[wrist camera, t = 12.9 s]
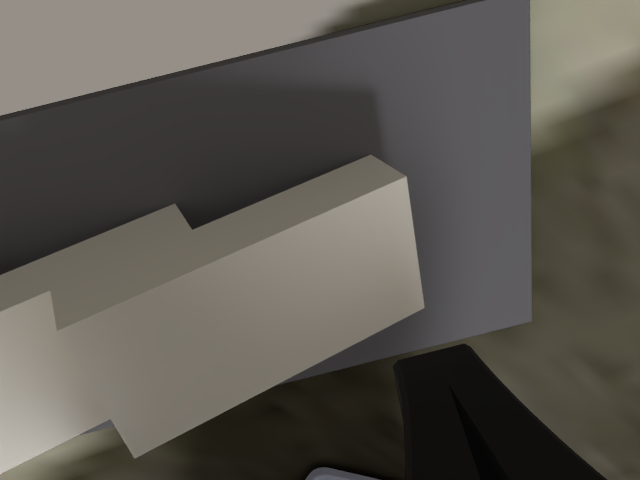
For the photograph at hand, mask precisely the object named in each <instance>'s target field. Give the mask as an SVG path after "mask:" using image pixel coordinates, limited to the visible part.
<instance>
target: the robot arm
mask: <svg viewBox="0 0 640 480" xmlns="http://www.w3.org/2000/svg"><path fill="white" fill-rule="evenodd" d="M393 370H394V375H395V380H396V385H397V391H398V396H399V401H400V406H401V412H402V417H403V422H404V441H405V480H607V479H606V478H605V477H603V476H602V475H601V474H600V473H599V472H597V471H596V470H595V469H594V468H593V467H591V466H590V465H589V464H588V463H587V462H586V461H584V460H583V459H582V458H581V457H580V456H579V455H577V454H576V453H575V452H574V451H573V450H572V449H571V448H569V447H568V446H567V445H566V444H565V443H564V442H563V441H562V440H560V439H559V438H558V437H557V436H556V435H555V434H554V433H553V432H552V431H551V430H550V429H549V428H548V427H547V426H545V425H544V424H543V423H542V422H541V421H540V420H539V419H538V418H537V417H536V416H535V415H534V414H533V413H532V412H531V411H530V410H529V409H528V408H527V407H525V406H524V405H523V404H522V403H521V402H520V401H519V400H518V399H517V398H516V397H515V395H514V394H513V393H512V392H511V391H510V390H509V389H508V388H507V387H506V386H505V385H504V384H503V383H502V382H501V381H500V380H499V379H498V378H497V377H496V376H495V375H494V373H493V372H492V371H491V370H490V369H489V368H488V367H487V366H486V365H485V363H484V362H483V361H482V360H481V359H480V358H479V356H478V355H477V354H476V353H475V352H474V350H473V349H472V348H471V347H470V346H468V345H466V344H461V345H457V346H453V347H449V348H445V349H441V350H437V351H433V352H429V353H425V354H421V355H417V356H413V357H409V358H405V359H401V360H398V361H397V362H396V363H395V364H394V366H393ZM305 480H380V479H376V478H371V477H367V476H363V475H358V474H354V473H349V472H345V471H341V470H336V469H332V468H328V467H320V468H317V469H315V470H313V471H312V472H311V473H310V474H309V475H308V477H307V478H306V479H305Z"/></svg>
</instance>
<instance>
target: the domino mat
mask: <svg viewBox="0 0 640 480" xmlns="http://www.w3.org/2000/svg"><path fill="white" fill-rule="evenodd" d="M368 155H373V156H374V157H376V158H377V159H379V160H381V161H382V162H384V163H386V164H387V165H389V166H391V167H392V168H394V169H395V170H397V171H399V172H400V173H402V174H404V175H405V176H407V183H408V191H409V198H410V205H411V212H412V220H413V227H414V234H415V241H416V249H417V256H418V263H419V271H420V278H421V285H422V292H423V300H424V307H425V308H423V309H421V310H419V311H418V312H416V313H414V314H412V315H410V316H408V317H406V318H404V319H402V320H400V321H398V322H396V323H394V324H393V325H391V326H389V327H387V328H385V329H383V330H381V331H379V332H377V333H375V334H373V335H371V336H369V337H368V338H366V339H364V340H362V341H360V342H358V343H356V344H354V345H352V346H350V347H348V348H346V349H344V350H343V351H341V352H339V353H337V354H335V355H333V356H331V357H329V358H327V359H325V360H323V361H321V362H319V363H318V364H316V365H314V366H312V367H310V368H308V369H306V370H304V371H302V372H300V373H298V374H296V375H294V376H293V377H291V378H289V379H287V380H285V381H283V382H281V383H279V384H277V385H280V384H284V383H288V382H292V381H296V380H300V379H304V378H308V377H312V376H316V375H320V374H324V373H328V372H332V371H336V370H340V369H344V368H348V367H352V366H356V365H360V364H364V363H368V362H372V361H376V360H380V359H384V358H388V357H392V356H396V355H400V354H404V353H408V352H411V351H415V350H419V349H423V348H427V347H431V346H435V345H439V344H443V343H447V342H451V341H455V340H459V339H463V338H467V337H471V336H475V335H479V334H483V333H487V332H491V331H495V330H499V329H503V328H507V327H511V326H515V325H519V324H523V323H527V322H531V321H532V277H531V101H530V0H465V1H461V2H457V3H453V4H449V5H445V6H441V7H437V8H432V9H428V10H424V11H420V12H416V13H412V14H408V15H404V16H400V17H396V18H392V19H388V20H384V21H380V22H376V23H372V24H368V25H364V26H360V27H356V28H352V29H348V30H344V31H340V32H336V33H332V34H328V35H324V36H320V37H316V38H312V39H308V40H304V41H300V42H296V43H292V44H287V45H283V46H280V47H276V48H272V49H267V50H264V51H259V52H256V53H251V54H247V55H243V56H240V57H236V58H231V59H227V60H223V61H220V62H215V63H211V64H207V65H203V66H199V67H195V68H191V69H187V70H183V71H179V72H175V73H171V74H167V75H163V76H159V77H155V78H151V79H147V80H143V81H138V82H135V83H131V84H126V85H123V86H119V87H114V88H110V89H106V90H102V91H98V92H94V93H90V94H86V95H82V96H78V97H74V98H71V99H66V100H62V101H58V102H55V103H50V104H46V105H42V106H38V107H34V108H30V109H26V110H22V111H18V112H14V113H10V114H6V115H2V116H0V275H2V274H4V273H7V272H9V271H12V270H14V269H16V268H19V267H21V266H24V265H26V264H29V263H31V262H33V261H36V260H38V259H41V258H43V257H46V256H48V255H51V254H53V253H55V252H58V251H60V250H63V249H65V248H68V247H70V246H72V245H75V244H77V243H80V242H82V241H85V240H87V239H90V238H92V237H94V236H97V235H99V234H102V233H104V232H107V231H109V230H111V229H114V228H116V227H119V226H121V225H124V224H126V223H129V222H131V221H133V220H136V219H138V218H141V217H143V216H146V215H148V214H151V213H153V212H155V211H158V210H160V209H163V208H165V207H168V206H170V205H172V204H176V206H177V207H178V209H179V210H180V212H181V213H182V215H183V216H184V218H185V219H186V221H187V223H188V224H189V226H190V227H191V229H192V230H193V229H196V228H198V227H200V226H203V225H205V224H207V223H210V222H212V221H215V220H217V219H219V218H222V217H224V216H226V215H229V214H231V213H234V212H236V211H238V210H241V209H243V208H245V207H248V206H250V205H252V204H255V203H257V202H260V201H262V200H264V199H267V198H269V197H271V196H274V195H276V194H278V193H281V192H283V191H286V190H288V189H290V188H293V187H295V186H297V185H300V184H302V183H305V182H307V181H309V180H312V179H314V178H316V177H319V176H321V175H323V174H326V173H328V172H331V171H333V170H335V169H338V168H340V167H342V166H345V165H347V164H350V163H352V162H354V161H357V160H359V159H361V158H364V157H366V156H368ZM275 386H276V385H275ZM113 426H114V424H113V422H112V421H111V419H110V420H108V421H106V422H104V423H102V424H100V425H98V426H96V427H93V428H91V429H89V430H87V431H85V432H83V433H81V434H85V433H89V432H93V431H97V430H101V429H105V428H109V427H113ZM81 434H79V435H81Z"/></svg>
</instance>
